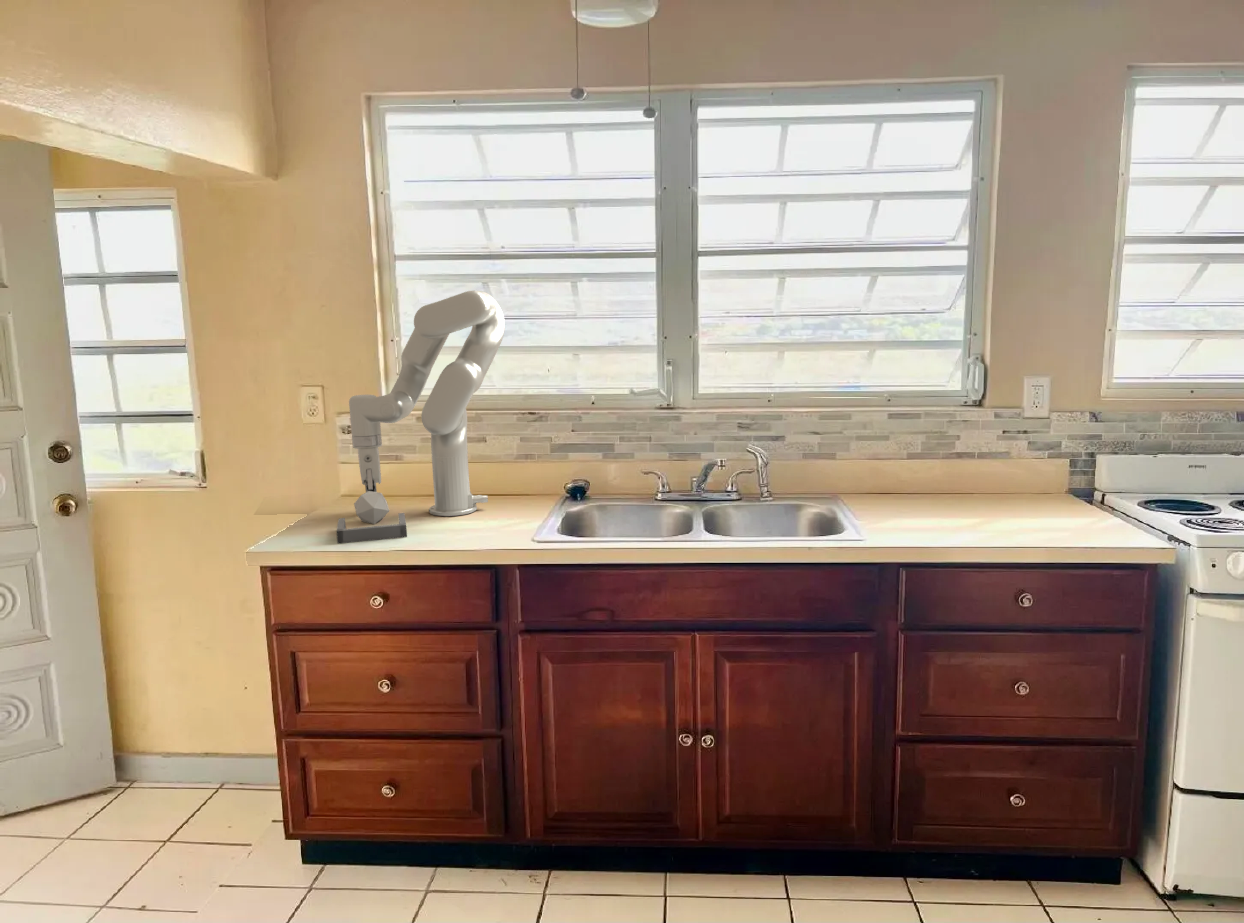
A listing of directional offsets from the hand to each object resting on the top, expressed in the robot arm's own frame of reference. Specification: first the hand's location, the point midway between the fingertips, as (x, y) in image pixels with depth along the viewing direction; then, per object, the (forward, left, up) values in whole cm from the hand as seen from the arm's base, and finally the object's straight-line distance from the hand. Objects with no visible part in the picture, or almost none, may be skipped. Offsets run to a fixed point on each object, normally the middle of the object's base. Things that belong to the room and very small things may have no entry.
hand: (372, 507), depth 227 cm
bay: (0, +22, -2) cm, 22 cm away
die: (0, +10, -2) cm, 10 cm away
